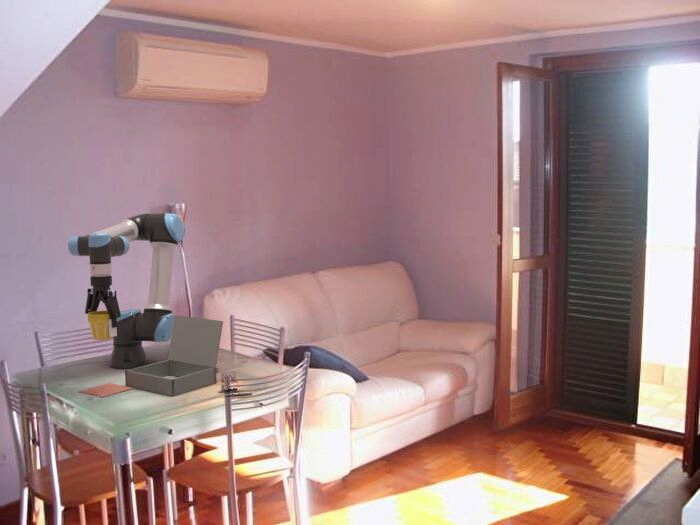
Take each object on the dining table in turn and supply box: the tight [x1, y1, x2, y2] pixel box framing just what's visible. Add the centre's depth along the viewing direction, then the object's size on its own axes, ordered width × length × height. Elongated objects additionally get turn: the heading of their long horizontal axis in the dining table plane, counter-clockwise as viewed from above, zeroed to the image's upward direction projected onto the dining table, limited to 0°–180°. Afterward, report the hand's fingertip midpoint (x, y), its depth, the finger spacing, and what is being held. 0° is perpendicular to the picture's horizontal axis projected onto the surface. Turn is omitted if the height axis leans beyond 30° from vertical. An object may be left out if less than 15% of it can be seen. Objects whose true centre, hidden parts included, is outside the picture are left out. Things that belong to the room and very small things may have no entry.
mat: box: [78, 382, 135, 399], centre depth 291 cm, size 14×14×1 cm
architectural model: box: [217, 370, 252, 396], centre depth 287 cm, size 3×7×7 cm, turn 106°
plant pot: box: [87, 310, 113, 341], centre depth 288 cm, size 10×10×10 cm
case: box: [124, 314, 224, 397], centre depth 298 cm, size 26×27×24 cm
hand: (103, 334), depth 288 cm, fingers closed on plant pot, 10 cm apart
